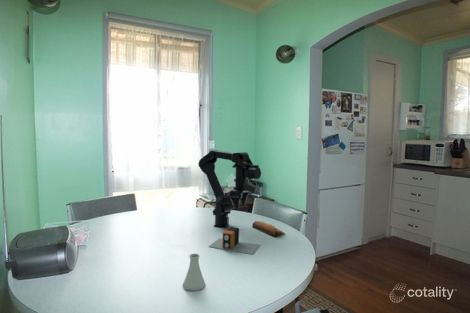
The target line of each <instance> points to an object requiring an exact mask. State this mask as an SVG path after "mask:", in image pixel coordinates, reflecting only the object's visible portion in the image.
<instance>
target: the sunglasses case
mask: <svg viewBox="0 0 470 313" xmlns="http://www.w3.org/2000/svg"><path fill="white" fill-rule="evenodd" d="M251 226H252V228H255V229H257V230H259V231H260V230H261V231H263V232H265V233H267V234H269V235H271V236H273V237H275V238H277V237H283V236H285V235H287V234H286V233H285V232H284V231H282V230H281V229H279V228H277V227H276V226H275V225H272V224H270V223H267V222H264V221H253V223H252V225H251ZM282 235H283V236H282Z"/></svg>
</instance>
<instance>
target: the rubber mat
mask: <svg viewBox="0 0 470 313" xmlns="http://www.w3.org/2000/svg"><path fill="white" fill-rule="evenodd" d="M222 243H223V238H221V237H220V238H219V237H218V238H217V239H216V240H215V241H214V242H212V243H211V244H210V245H209V246H208V248H211V249H212V248H213V249H218V250H224V251H229V252H230V251H231V252H236V253H242V254H248V255H251V256H252V255H254V254H255V253H256V251H257V250H258V249H259V248H260V247H261V244H258V243H251V242H246V241H240V240H239V242H238V243H237V244H236V245H235V246H234V247H233V248H232V249H226V248H223V247H222Z"/></svg>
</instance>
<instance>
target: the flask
mask: <svg viewBox="0 0 470 313" xmlns="http://www.w3.org/2000/svg"><path fill="white" fill-rule="evenodd" d="M188 256H189V259H190V260H189V266H188V269H187V272H186V276H185V278H184V281H183V282H182V287H183V289H184V290H185V291H189V292H190V291H192V292H195V291H200V290H203V289H204V288H205V286H206V282H205V279H204V277H203V274H202V270H201V267H200V262H199V261H200V260H199V258H200V253H191V254H190V255H188Z"/></svg>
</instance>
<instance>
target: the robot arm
mask: <svg viewBox="0 0 470 313" xmlns="http://www.w3.org/2000/svg"><path fill="white" fill-rule="evenodd" d="M218 159H223V160H226V161H227V160H228V161H230V162H232V163H234V164H233V165H232V166H231V167H232V168H235V178H234V179H233V182H234V183H235V184H234V187H233V189H230V190H229V191H228V196H226V194H225V193H224V190H223V188H222V186H221V183H220V181H219V179H218V176H217V175H216V172H215V170H216V164H215V163H216V162H217V161H218ZM198 167H199V169H200V170H201V172H202V173H204V174H205V175H206V178H207V180H208V182H209V185H210V188H211V190H212V191H213V194H214V197H215V203H214V204H215V208H214V209H213V210H212V214H213V216H214V225H213V227H217V228H224V229H225V228H226V227H228V226H229V225H230V222H229V221H230V217H229V215H230V214H231V211H233V210H232V209H233V206H234V208H235V210H236V211H238V210H240V202H241V205H242V206H243V207H244V206H246V202H247V198H248V196H249V195H250V194H255V193H257V191H258V189H259V186H258V182H256V181H253V182H250V181H249V179H252V180H253V179H254V180H259V179H260V178H261V176H262V171H261V168H260V166H259V164H253V162H252V159H251V158H250V155H249V153H248V152H246V151H242V152H241V151H240V152H230V151H222V150H218V149H212V150H210V151H209V152H208V153H207V154H206V155H204V156H203V157H202V158H200V159H199V160H198Z"/></svg>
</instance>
